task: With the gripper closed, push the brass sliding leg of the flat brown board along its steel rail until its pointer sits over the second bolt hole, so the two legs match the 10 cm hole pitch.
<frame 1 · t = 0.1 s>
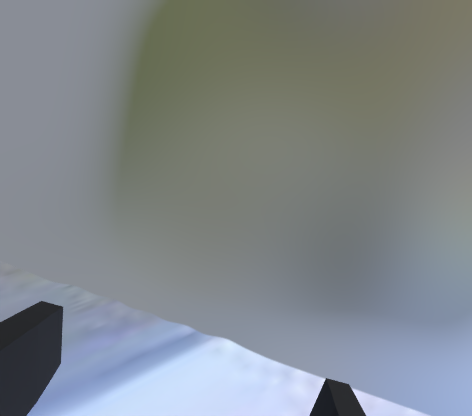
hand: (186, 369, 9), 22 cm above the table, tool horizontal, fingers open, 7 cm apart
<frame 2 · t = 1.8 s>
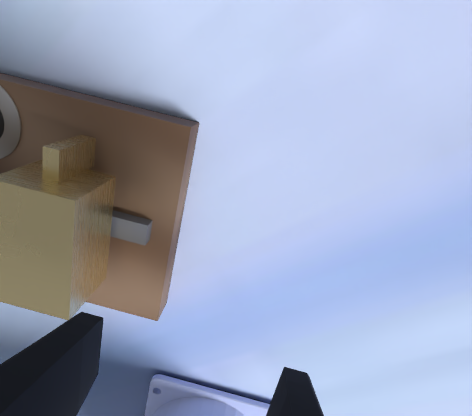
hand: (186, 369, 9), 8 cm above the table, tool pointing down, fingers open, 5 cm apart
sliding leg: (61, 220, 14), point 4 cm above the table, slide at 0.0 cm
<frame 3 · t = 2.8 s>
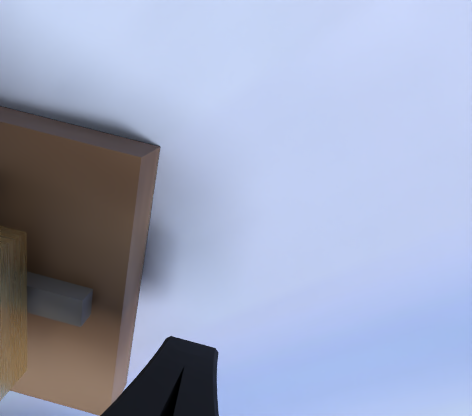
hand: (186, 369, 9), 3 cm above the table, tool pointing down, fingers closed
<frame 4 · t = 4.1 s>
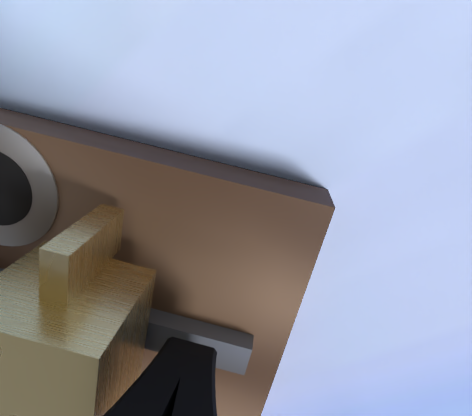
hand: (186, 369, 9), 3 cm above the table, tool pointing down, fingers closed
sliding leg: (70, 346, 8), point 4 cm above the table, slide at 1.5 cm, touching gripper
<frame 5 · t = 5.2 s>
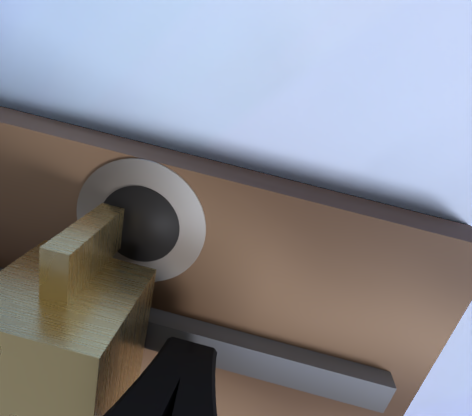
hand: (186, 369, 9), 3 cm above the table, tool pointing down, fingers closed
flat brown board: (91, 272, 12), on the table
sliding leg: (70, 345, 8), point 4 cm above the table, slide at 5.7 cm, touching gripper
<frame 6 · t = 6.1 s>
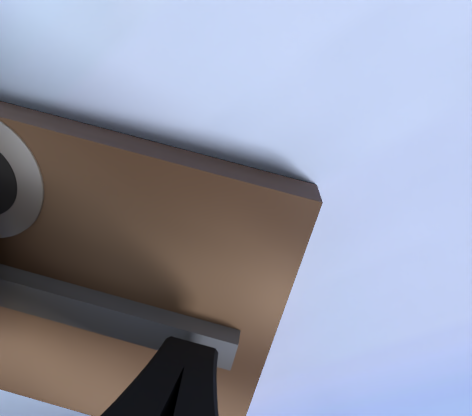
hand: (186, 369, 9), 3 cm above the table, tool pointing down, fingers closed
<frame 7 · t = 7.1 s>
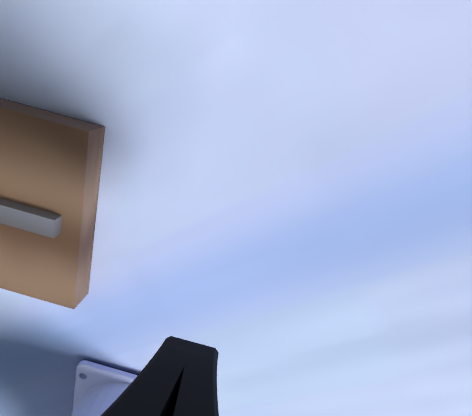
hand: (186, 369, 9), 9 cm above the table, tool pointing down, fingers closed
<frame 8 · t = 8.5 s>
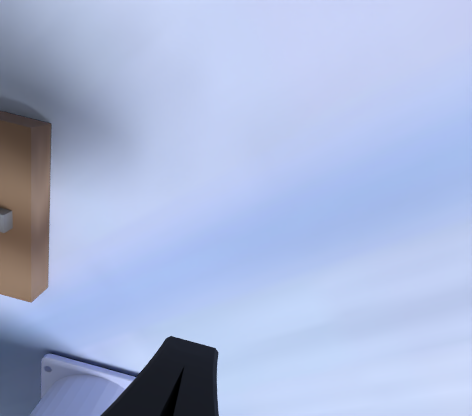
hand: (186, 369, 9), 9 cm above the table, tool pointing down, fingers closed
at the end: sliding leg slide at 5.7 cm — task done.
